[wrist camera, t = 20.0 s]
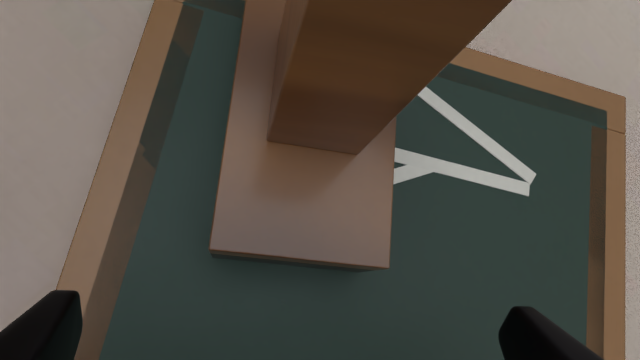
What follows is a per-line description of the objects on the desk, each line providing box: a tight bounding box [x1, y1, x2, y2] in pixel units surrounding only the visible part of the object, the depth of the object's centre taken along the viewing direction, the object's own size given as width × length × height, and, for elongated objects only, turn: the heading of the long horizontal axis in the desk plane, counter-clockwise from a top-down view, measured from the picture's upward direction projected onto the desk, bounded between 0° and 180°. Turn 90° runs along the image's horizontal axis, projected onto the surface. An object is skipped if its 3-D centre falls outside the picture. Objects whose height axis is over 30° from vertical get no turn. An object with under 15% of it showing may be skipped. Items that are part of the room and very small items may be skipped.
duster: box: [208, 0, 512, 272], centre depth 12 cm, size 11×6×12 cm, turn 175°
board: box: [56, 0, 626, 360], centre depth 18 cm, size 18×22×1 cm
